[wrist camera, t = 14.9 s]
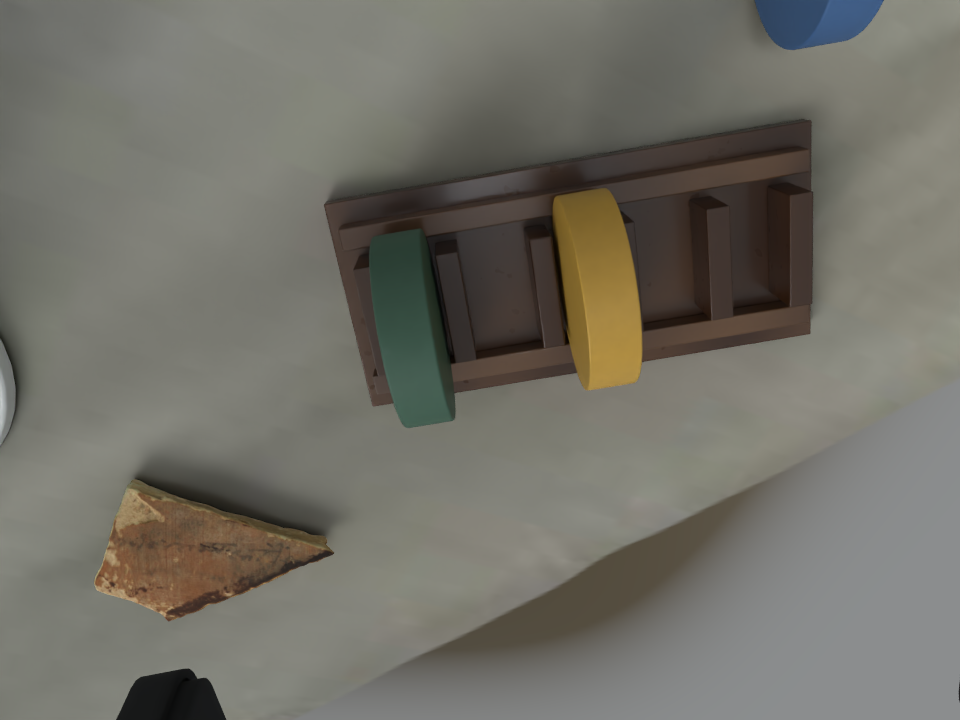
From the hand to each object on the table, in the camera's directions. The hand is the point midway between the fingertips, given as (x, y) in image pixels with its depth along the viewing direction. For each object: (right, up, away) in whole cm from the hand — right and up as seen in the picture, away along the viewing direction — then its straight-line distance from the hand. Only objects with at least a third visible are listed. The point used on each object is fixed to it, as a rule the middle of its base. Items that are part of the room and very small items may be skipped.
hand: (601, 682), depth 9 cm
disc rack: (+3, +8, +26) cm, 28 cm away
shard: (-16, -5, +31) cm, 35 cm away
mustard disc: (+3, +8, +26) cm, 27 cm away
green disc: (-4, +7, +26) cm, 27 cm away
